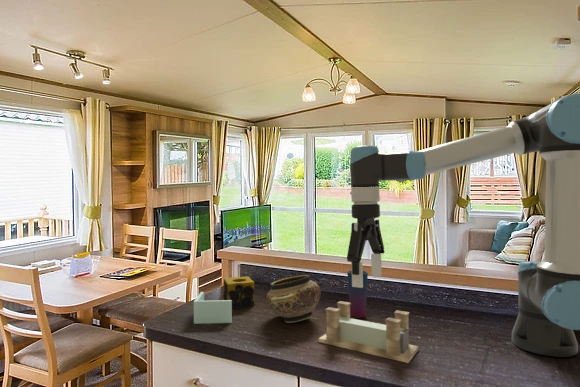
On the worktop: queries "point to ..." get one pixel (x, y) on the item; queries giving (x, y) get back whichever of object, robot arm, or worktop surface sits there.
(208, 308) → the l-shaped corner panel
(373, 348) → the bar on post stand
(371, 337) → the rail
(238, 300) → the yellow patterned cube
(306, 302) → the ceramic bowl
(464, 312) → the worktop surface
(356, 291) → the cup
